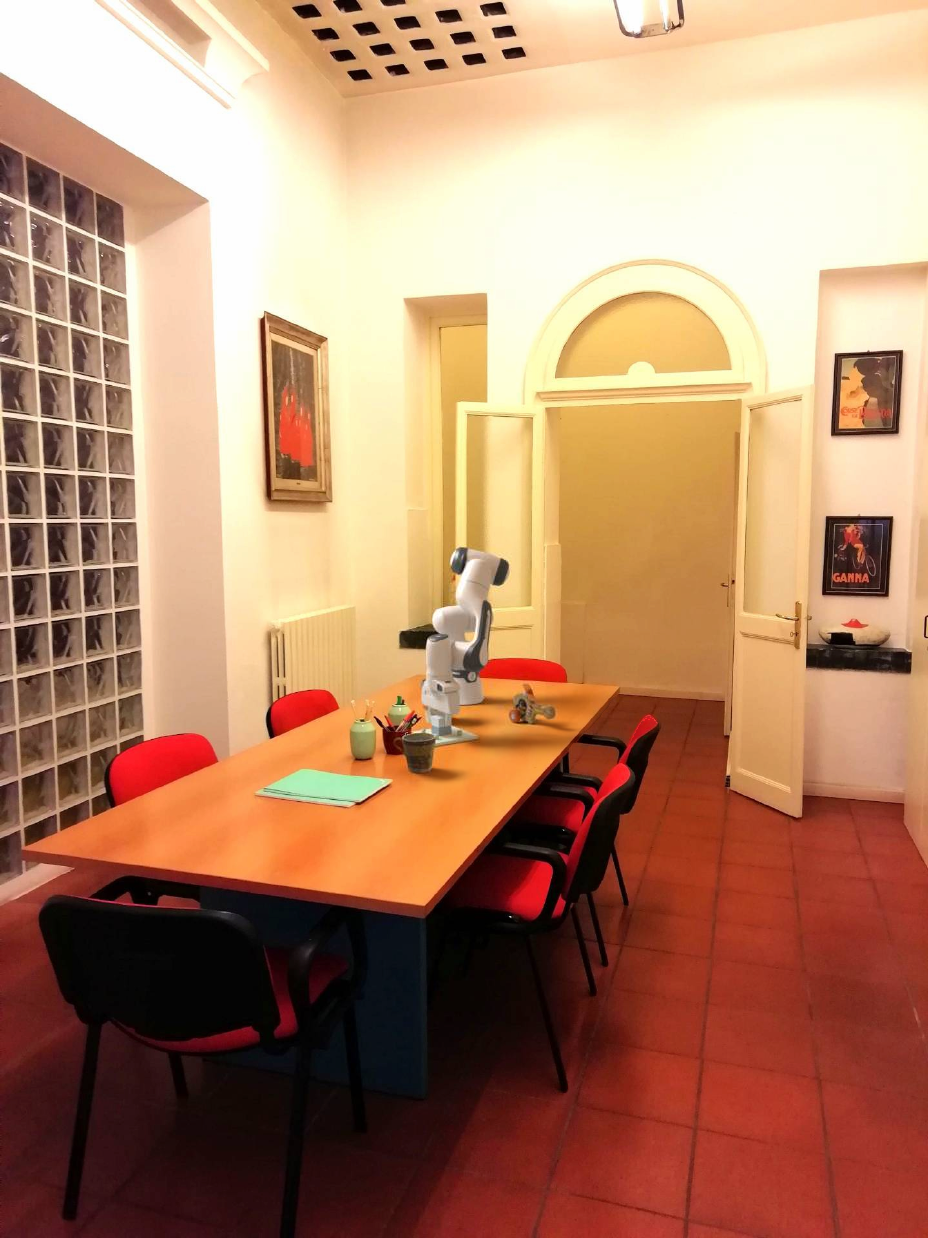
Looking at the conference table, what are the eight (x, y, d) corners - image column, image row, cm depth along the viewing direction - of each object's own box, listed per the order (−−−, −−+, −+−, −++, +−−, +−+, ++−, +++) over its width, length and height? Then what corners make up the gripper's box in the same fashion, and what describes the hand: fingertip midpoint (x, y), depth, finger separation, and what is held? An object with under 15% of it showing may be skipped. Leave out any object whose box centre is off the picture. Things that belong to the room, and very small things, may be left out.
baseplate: (405, 735, 300) (405, 728, 300) (450, 728, 309) (450, 721, 309) (431, 747, 285) (431, 739, 285) (478, 738, 294) (477, 731, 294)
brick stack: (431, 733, 298) (431, 716, 297) (444, 731, 300) (443, 714, 300) (438, 736, 294) (438, 718, 293) (451, 734, 296) (451, 716, 296)
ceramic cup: (440, 766, 263) (440, 733, 262) (430, 775, 254) (429, 742, 253) (400, 763, 267) (399, 731, 266) (388, 773, 257) (387, 739, 256)
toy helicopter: (523, 717, 323) (523, 681, 321) (562, 727, 307) (562, 689, 305) (506, 721, 318) (506, 684, 316) (545, 731, 302) (545, 692, 300)
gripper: (416, 678, 302) (417, 717, 304) (446, 688, 285) (447, 730, 287) (432, 676, 305) (433, 715, 307) (462, 686, 288) (463, 727, 290)
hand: (440, 722), depth 297 cm, fingers open, 8 cm apart
